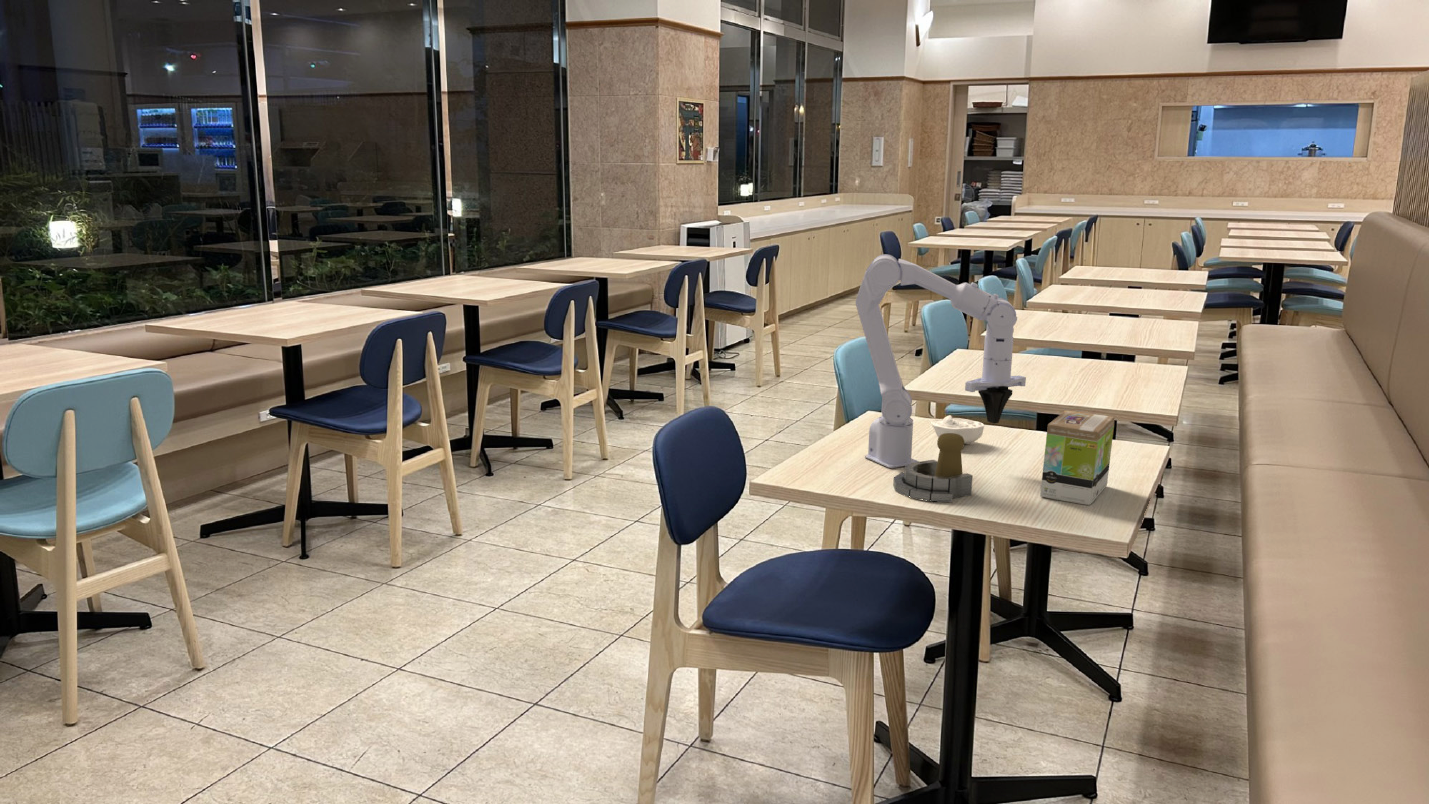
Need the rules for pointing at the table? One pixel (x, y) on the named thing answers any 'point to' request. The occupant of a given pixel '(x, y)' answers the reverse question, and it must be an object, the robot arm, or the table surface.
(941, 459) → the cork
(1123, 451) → the table surface
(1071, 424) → the tea box
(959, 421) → the cell model
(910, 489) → the hub collar
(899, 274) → the robot arm
